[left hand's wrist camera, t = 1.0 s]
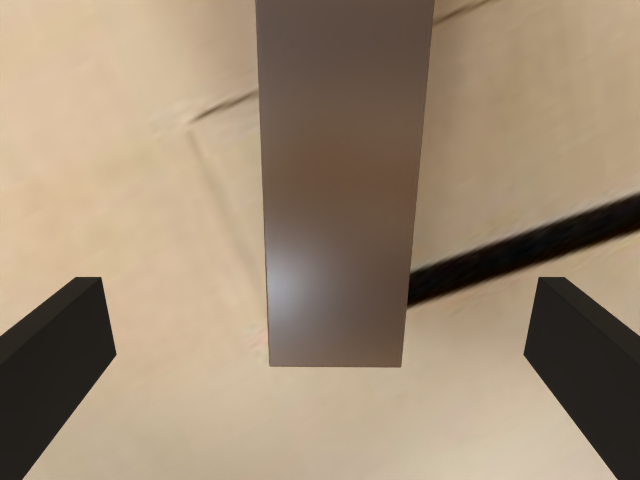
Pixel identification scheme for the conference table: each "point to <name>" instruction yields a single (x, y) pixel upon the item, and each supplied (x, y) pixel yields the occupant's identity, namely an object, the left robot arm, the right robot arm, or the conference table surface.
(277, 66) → the bar
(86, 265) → the conference table surface
